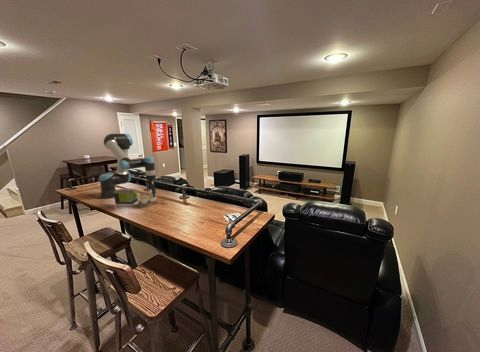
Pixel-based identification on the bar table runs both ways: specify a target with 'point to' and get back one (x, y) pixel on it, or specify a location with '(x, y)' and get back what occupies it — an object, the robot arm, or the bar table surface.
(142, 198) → the tan block
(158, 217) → the bar table surface
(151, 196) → the beige wooden block
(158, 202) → the grey brown flat frame
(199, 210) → the bar table surface
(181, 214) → the bar table surface
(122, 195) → the tea box
